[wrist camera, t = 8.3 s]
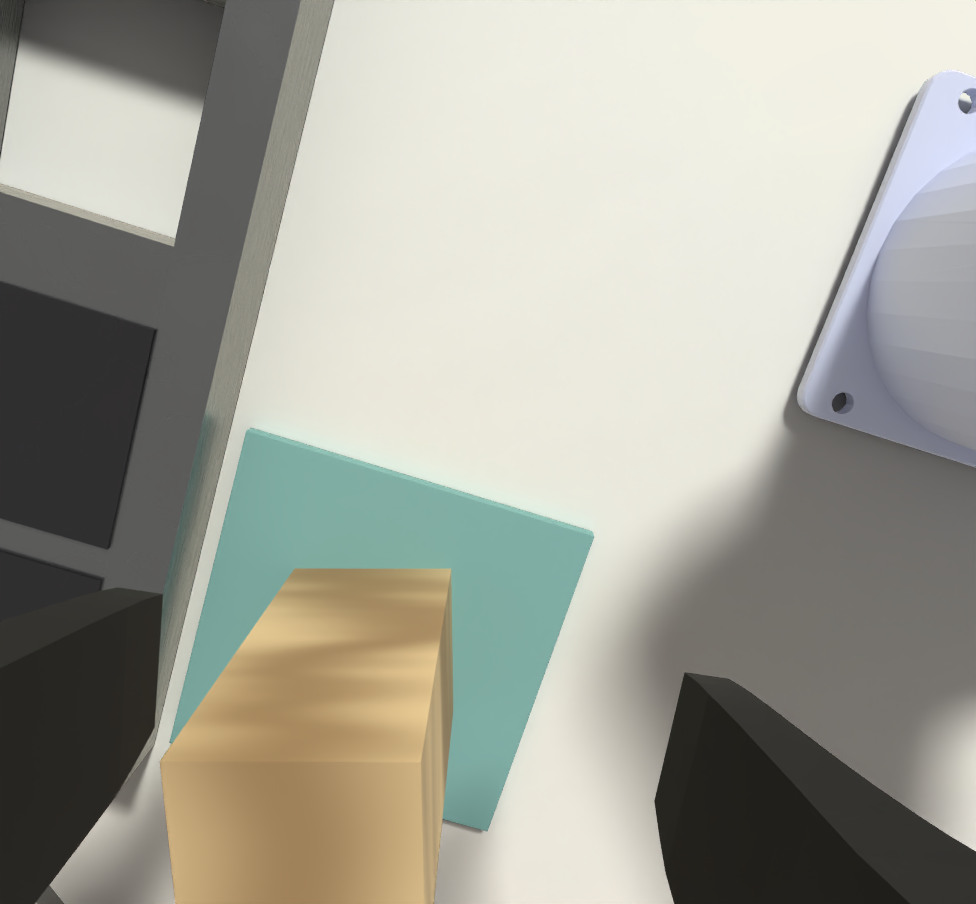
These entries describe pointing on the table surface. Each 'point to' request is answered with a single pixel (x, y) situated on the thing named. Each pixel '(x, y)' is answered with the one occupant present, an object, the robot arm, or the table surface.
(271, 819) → the oak peg
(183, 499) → the rack frame
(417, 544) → the teal mat
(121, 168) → the table surface
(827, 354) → the robot arm
